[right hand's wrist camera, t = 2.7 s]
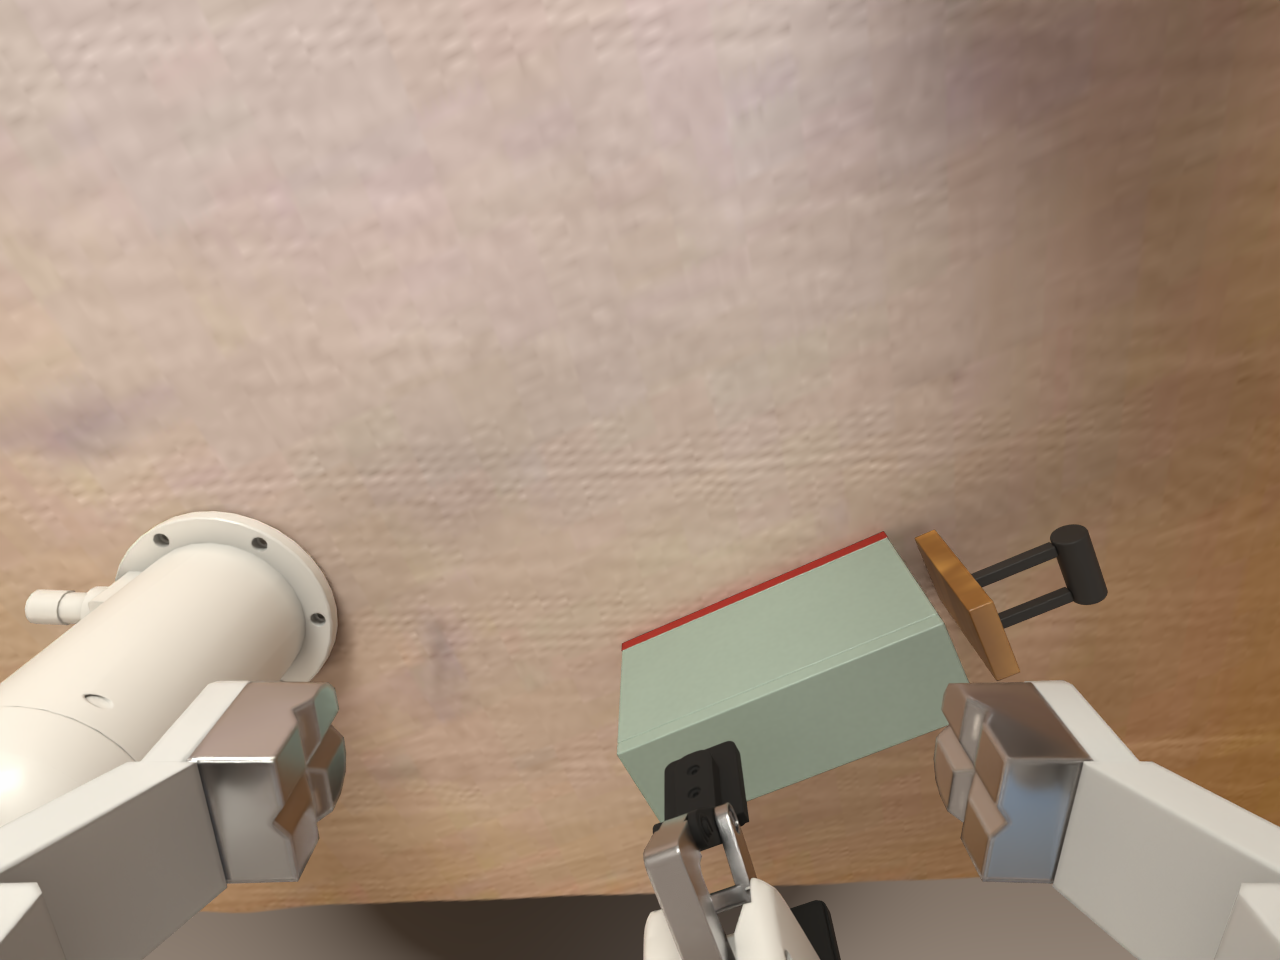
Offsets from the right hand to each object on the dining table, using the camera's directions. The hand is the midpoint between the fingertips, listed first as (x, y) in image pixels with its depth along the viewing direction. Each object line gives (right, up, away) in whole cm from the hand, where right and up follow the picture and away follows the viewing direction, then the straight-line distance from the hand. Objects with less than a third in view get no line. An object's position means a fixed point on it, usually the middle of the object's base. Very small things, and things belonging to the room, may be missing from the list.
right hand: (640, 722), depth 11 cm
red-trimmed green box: (+8, -6, +36) cm, 38 cm away
